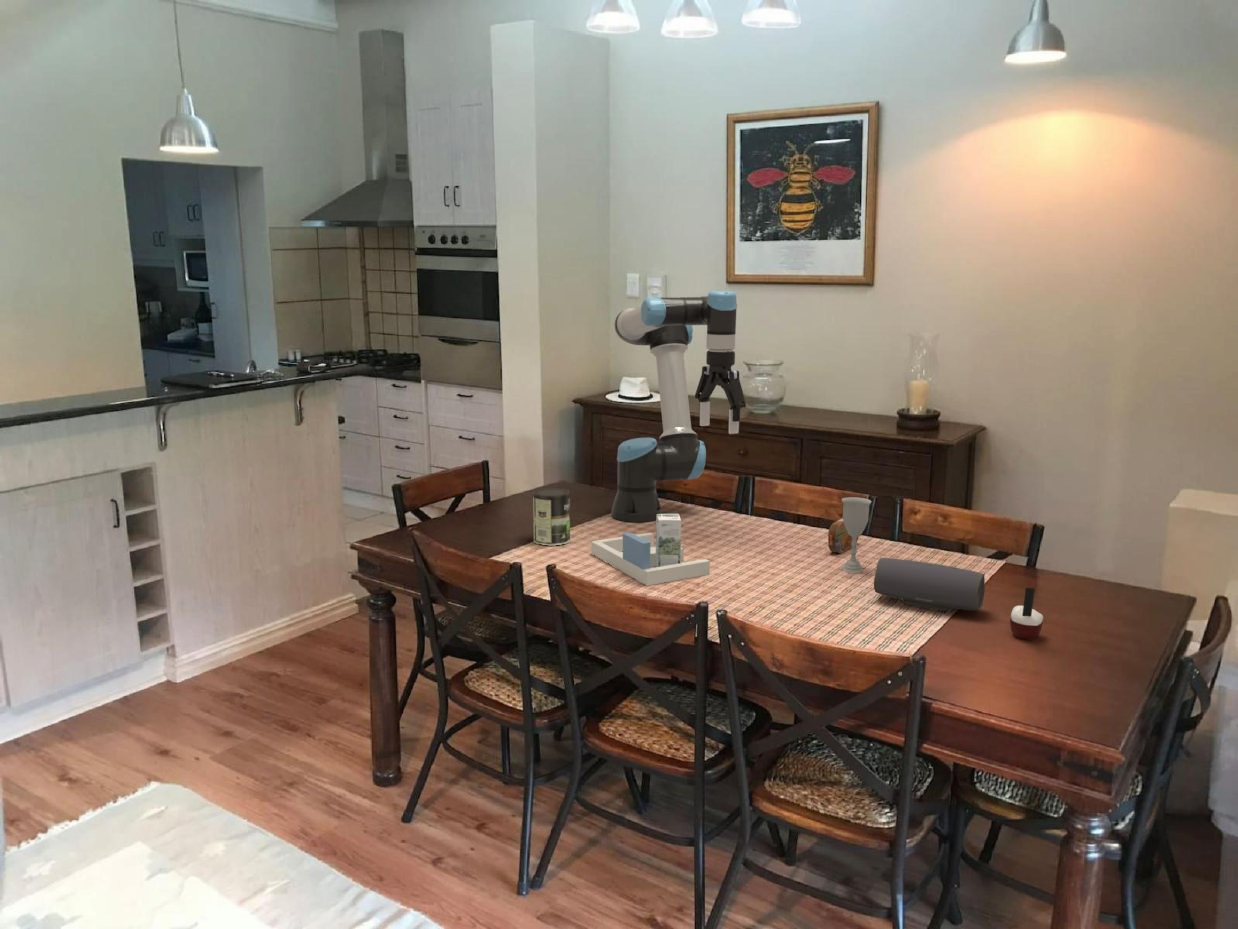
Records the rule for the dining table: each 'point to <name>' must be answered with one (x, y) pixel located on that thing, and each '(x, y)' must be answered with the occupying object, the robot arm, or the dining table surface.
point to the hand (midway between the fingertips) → (718, 429)
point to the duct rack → (645, 559)
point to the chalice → (855, 527)
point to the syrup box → (668, 539)
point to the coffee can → (551, 516)
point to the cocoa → (1026, 618)
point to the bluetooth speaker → (929, 584)
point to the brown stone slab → (839, 537)
